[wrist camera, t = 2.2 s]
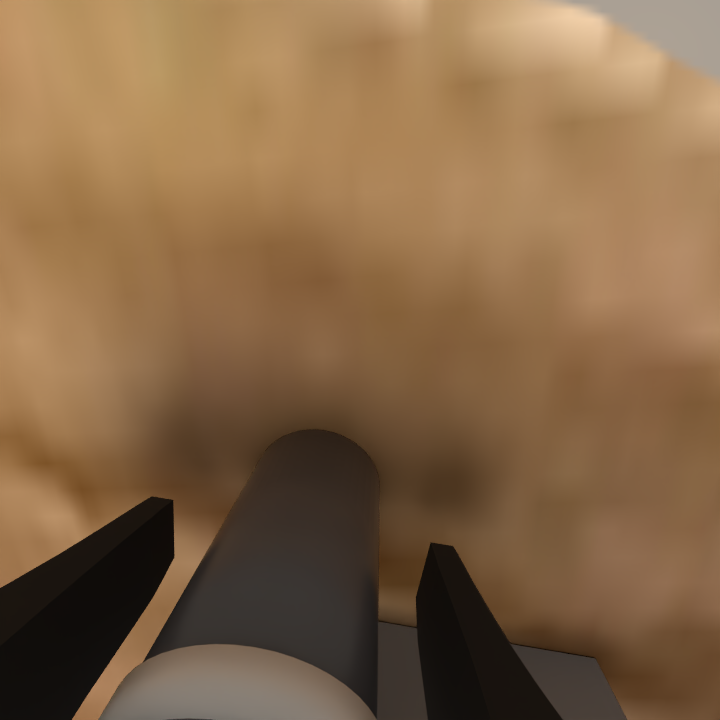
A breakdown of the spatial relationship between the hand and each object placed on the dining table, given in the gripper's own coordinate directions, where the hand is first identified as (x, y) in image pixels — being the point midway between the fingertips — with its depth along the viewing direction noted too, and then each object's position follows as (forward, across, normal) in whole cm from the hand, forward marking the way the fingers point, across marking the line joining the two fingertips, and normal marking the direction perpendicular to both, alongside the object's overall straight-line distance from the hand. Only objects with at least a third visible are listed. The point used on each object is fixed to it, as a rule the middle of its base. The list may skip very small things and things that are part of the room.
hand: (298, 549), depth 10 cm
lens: (+3, 0, 0) cm, 3 cm away
